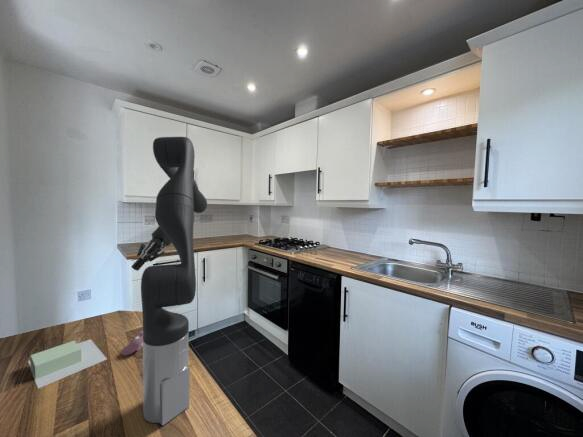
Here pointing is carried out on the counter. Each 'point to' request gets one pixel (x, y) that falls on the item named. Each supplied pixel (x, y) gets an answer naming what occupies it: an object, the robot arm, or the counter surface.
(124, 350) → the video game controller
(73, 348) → the block
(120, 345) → the counter surface
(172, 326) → the robot arm
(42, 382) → the mat
